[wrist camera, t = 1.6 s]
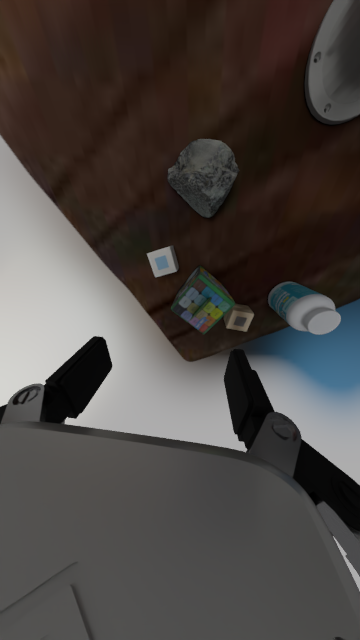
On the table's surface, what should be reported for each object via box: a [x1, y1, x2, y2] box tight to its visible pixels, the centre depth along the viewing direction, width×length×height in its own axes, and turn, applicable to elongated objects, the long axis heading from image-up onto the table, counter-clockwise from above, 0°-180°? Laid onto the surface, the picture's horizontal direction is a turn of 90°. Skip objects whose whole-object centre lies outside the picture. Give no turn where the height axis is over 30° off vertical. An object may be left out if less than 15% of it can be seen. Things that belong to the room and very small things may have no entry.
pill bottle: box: [268, 282, 341, 334], centre depth 30 cm, size 8×7×14 cm
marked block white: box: [147, 246, 179, 277], centre depth 32 cm, size 5×5×5 cm
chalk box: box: [171, 265, 236, 334], centre depth 31 cm, size 9×9×15 cm
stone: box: [168, 139, 239, 218], centre depth 25 cm, size 10×10×10 cm
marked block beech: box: [224, 304, 254, 332], centre depth 37 cm, size 5×5×5 cm
